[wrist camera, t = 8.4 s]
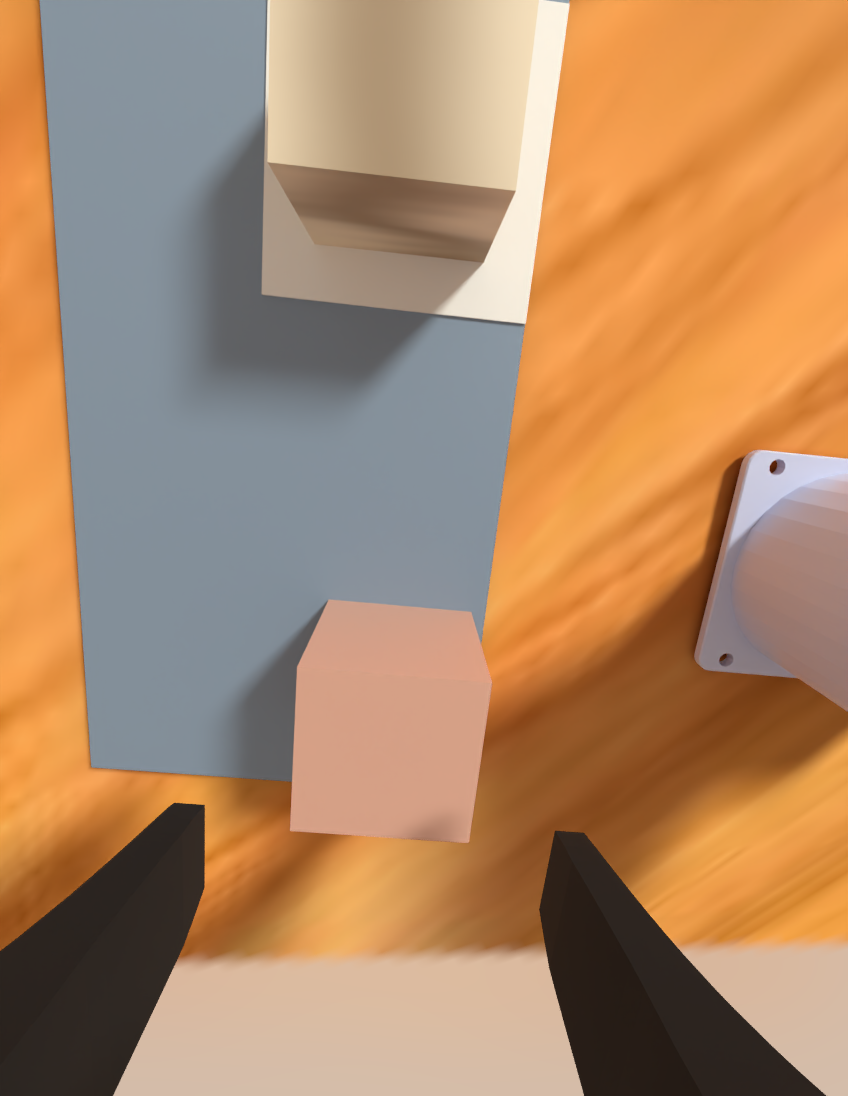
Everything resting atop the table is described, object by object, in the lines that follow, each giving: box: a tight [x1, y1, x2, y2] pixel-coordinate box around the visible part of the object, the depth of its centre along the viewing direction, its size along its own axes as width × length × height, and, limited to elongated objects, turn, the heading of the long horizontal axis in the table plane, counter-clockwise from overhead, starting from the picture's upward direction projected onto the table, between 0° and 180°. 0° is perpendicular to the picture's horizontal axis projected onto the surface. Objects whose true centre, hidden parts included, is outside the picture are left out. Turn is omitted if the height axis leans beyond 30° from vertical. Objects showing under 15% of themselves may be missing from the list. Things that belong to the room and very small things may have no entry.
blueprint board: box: [40, 0, 570, 782], centre depth 16 cm, size 14×30×1 cm, turn 174°
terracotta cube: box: [290, 600, 492, 843], centre depth 16 cm, size 5×5×5 cm
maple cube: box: [267, 0, 539, 263], centre depth 12 cm, size 5×5×5 cm
